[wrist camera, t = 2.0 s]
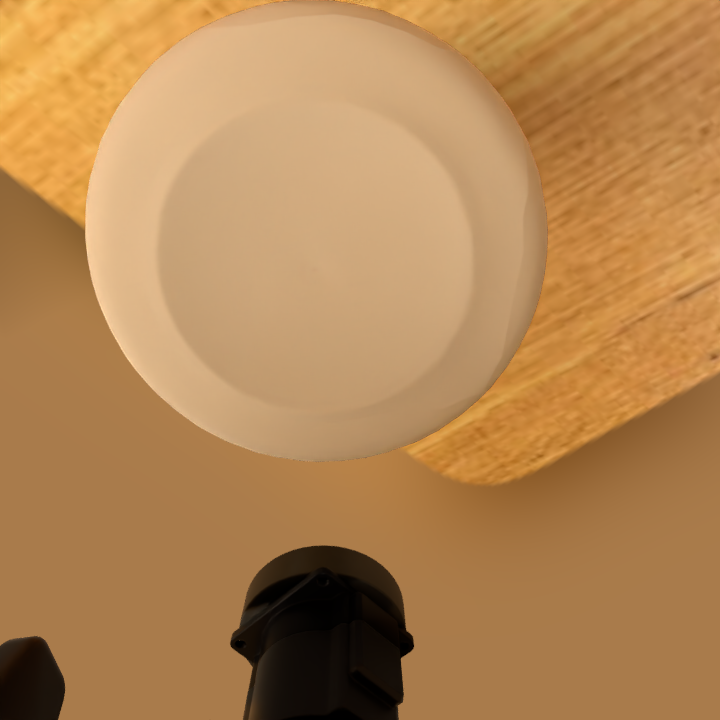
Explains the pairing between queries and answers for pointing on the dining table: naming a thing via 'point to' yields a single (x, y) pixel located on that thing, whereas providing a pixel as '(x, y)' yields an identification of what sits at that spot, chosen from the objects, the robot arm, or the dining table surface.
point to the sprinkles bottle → (316, 230)
